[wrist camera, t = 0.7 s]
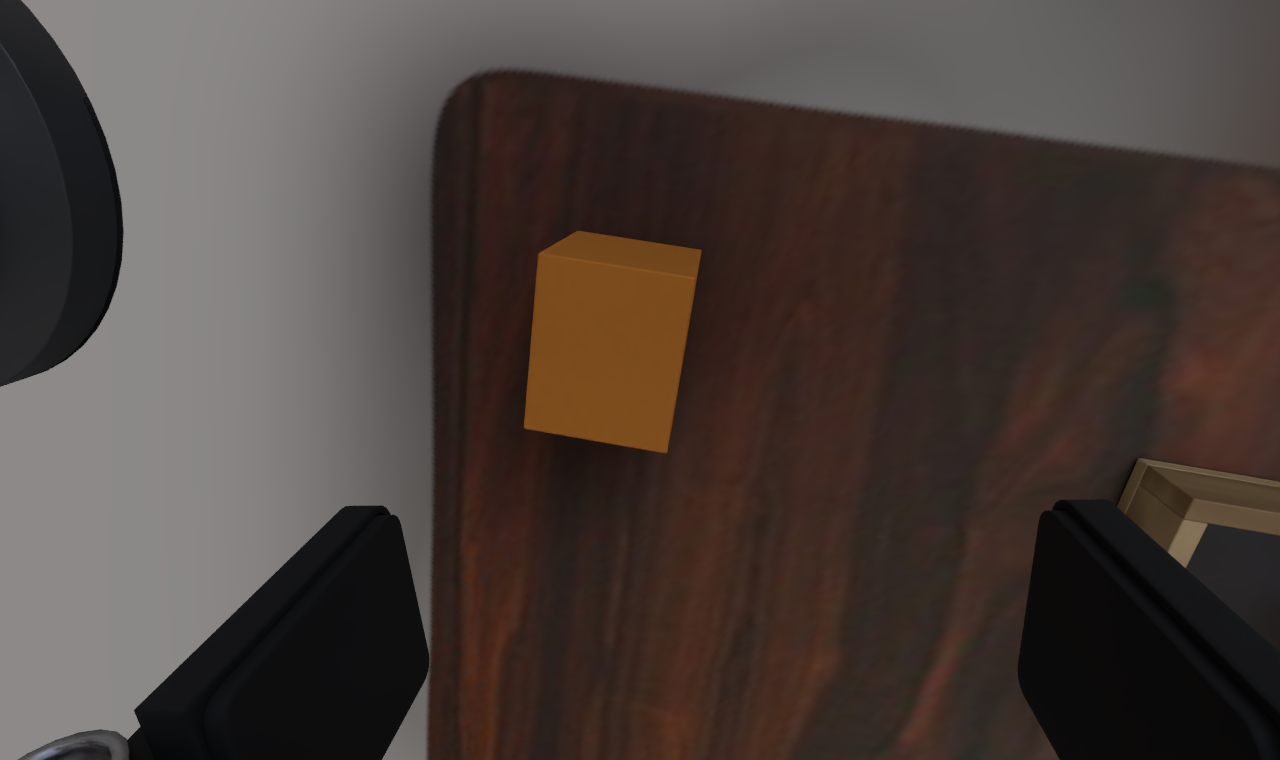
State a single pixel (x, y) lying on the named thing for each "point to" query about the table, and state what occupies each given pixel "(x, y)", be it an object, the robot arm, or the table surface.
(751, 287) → the table surface
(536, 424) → the orange block
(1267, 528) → the wooden frame
